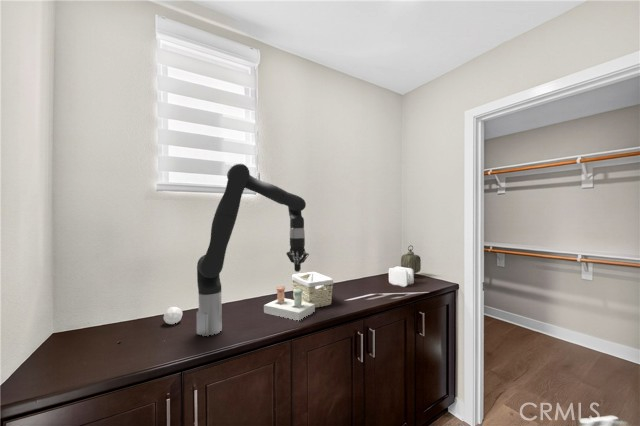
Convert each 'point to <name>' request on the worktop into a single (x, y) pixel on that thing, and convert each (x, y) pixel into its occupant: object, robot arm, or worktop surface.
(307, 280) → the storage basket
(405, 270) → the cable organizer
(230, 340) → the worktop surface
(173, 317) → the geometric ball
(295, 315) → the panel
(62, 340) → the worktop surface
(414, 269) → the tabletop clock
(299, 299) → the sage plunger
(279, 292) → the terracotta plunger
